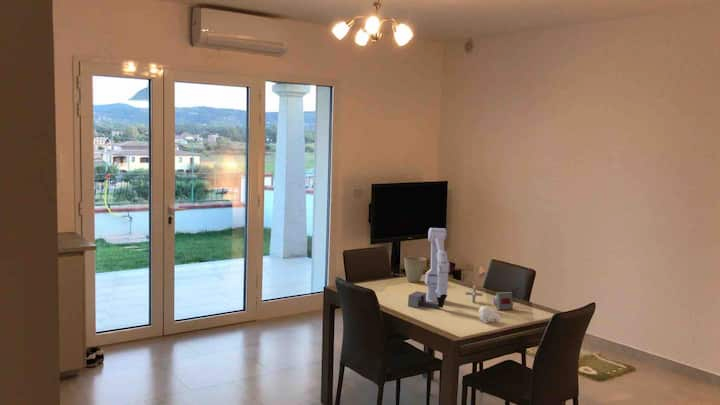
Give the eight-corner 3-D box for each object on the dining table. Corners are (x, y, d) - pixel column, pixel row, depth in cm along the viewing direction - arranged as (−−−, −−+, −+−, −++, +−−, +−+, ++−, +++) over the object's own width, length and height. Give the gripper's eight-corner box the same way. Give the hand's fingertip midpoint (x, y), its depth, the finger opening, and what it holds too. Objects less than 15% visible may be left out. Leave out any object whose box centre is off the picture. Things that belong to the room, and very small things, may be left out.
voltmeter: (508, 312, 346) (509, 295, 345) (489, 309, 352) (490, 292, 351) (522, 303, 369) (523, 287, 368) (503, 300, 375) (505, 284, 374)
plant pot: (427, 281, 418) (428, 258, 416) (420, 285, 404) (421, 261, 403) (406, 278, 424) (408, 255, 423) (399, 281, 410) (400, 258, 409)
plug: (439, 308, 348) (440, 301, 348) (437, 309, 345) (437, 302, 344) (414, 303, 356) (415, 296, 356) (411, 304, 353) (412, 297, 352)
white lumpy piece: (478, 304, 326) (498, 306, 329) (475, 320, 326) (496, 321, 329) (483, 307, 320) (504, 309, 323) (480, 323, 320) (501, 325, 323)
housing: (425, 303, 356) (426, 292, 356) (417, 307, 346) (418, 296, 345) (416, 301, 359) (416, 291, 359) (407, 306, 349) (408, 295, 348)
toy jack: (482, 305, 360) (483, 288, 359) (464, 303, 362) (466, 286, 361) (482, 300, 370) (483, 284, 369) (465, 299, 372) (466, 283, 371)
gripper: (439, 280, 352) (437, 303, 354) (432, 285, 339) (430, 309, 340) (450, 282, 350) (449, 305, 351) (444, 286, 336) (442, 310, 338)
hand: (440, 307), depth 345 cm, fingers closed
